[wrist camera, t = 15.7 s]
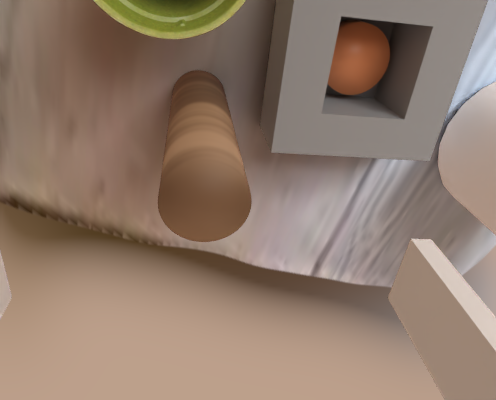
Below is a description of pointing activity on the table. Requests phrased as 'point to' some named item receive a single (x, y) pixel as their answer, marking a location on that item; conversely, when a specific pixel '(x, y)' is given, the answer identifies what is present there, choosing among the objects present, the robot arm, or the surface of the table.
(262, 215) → the table surface
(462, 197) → the can
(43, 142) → the table surface
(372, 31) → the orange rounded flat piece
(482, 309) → the robot arm
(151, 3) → the plant pot
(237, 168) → the dowel
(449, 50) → the box
